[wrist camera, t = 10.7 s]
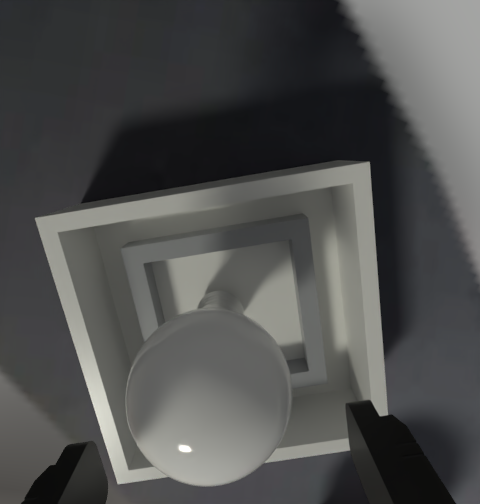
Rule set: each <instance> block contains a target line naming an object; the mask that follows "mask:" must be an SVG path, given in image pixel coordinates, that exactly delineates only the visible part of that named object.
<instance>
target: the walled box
mask: <svg viewBox="0 0 480 504" xmlns="http://www.w3.org/2000/svg"><path fill="white" fill-rule="evenodd" d="M35 220H36V223H37V227H38V230H39V233H40V236H41V239H42V243H43V246H44V249H45V252H46V255H47V259H48V262H49V265H50V268H51V271H52V275H53V278H54V281H55V284H56V287H57V291H58V294H59V297H60V300H61V303H62V307H63V310H64V313H65V316H66V319H67V323H68V326H69V329H70V332H71V335H72V339H73V342H74V345H75V348H76V351H77V355H78V358H79V361H80V364H81V367H82V371H83V374H84V377H85V380H86V383H87V387H88V390H89V393H90V396H91V399H92V403H93V406H94V409H95V412H96V415H97V419H98V422H99V425H100V428H101V432H102V435H103V438H104V441H105V444H106V448H107V451H108V454H109V457H110V460H111V464H112V467H113V470H114V473H115V476H116V480H117V483H118V484H123V483H130V482H137V481H144V480H150V479H157V478H164V477H168V476H167V475H165V474H163V473H162V472H160V471H159V470H158V469H157V468H155V467H154V466H153V465H152V464H151V463H150V462H149V461H148V460H147V459H146V457H145V456H144V455H143V453H142V452H141V451H140V449H139V448H138V446H137V444H136V442H135V440H134V438H133V436H132V433H131V431H130V428H129V424H128V420H127V414H126V401H125V398H126V386H127V380H128V376H129V372H130V369H131V366H132V364H133V361H134V359H135V357H136V355H137V353H138V352H139V350H140V348H141V347H142V345H143V344H144V342H145V341H146V340H147V339H148V338H149V336H150V335H151V334H152V333H153V332H154V331H155V330H156V329H157V328H159V327H160V326H161V325H162V324H164V323H165V322H167V321H168V320H170V319H172V318H173V317H175V316H177V315H180V314H182V313H185V312H188V311H191V310H195V309H197V307H198V304H199V302H200V301H201V299H202V298H203V297H204V296H205V295H207V294H209V293H211V292H214V291H226V292H229V293H231V294H233V295H234V296H236V297H237V298H238V299H239V301H240V302H241V304H242V307H243V315H245V316H247V317H249V318H251V319H253V320H254V321H256V322H257V323H258V324H260V325H261V326H262V327H263V328H264V329H266V330H267V331H268V332H269V334H270V335H271V336H272V337H273V338H274V340H275V341H276V342H277V344H278V345H279V347H280V349H281V350H282V352H283V354H284V356H285V359H286V361H287V364H288V367H289V370H290V374H291V380H292V389H293V399H292V409H291V414H290V419H289V422H288V425H287V428H286V431H285V433H284V435H283V438H282V440H281V441H280V443H279V445H278V446H277V448H276V449H275V451H274V452H273V453H272V455H271V456H270V457H269V458H268V459H267V460H266V461H265V462H264V463H267V462H274V461H281V460H288V459H294V458H301V457H308V456H315V455H322V454H329V453H336V452H342V451H349V450H350V446H349V438H348V428H347V419H346V409H345V404H346V403H349V402H356V401H362V400H371V402H372V403H373V405H374V407H375V409H376V411H377V412H378V414H379V416H386V415H388V410H387V396H386V382H385V368H384V354H383V340H382V326H381V312H380V298H379V284H378V270H377V256H376V242H375V228H374V214H373V200H372V186H371V172H370V162H366V161H346V160H336V161H330V162H324V163H318V164H312V165H307V166H301V167H295V168H289V169H283V170H277V171H271V172H265V173H259V174H253V175H247V176H241V177H235V178H230V179H224V180H218V181H212V182H206V183H200V184H194V185H188V186H182V187H176V188H170V189H164V190H158V191H153V192H147V193H141V194H135V195H129V196H123V197H117V198H111V199H105V200H99V201H93V202H87V203H81V204H78V205H75V206H71V207H68V208H65V209H62V210H59V211H56V212H52V213H49V214H46V215H43V216H40V217H37V218H35Z"/></svg>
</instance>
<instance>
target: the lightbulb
mask: <svg viewBox="0 0 480 504" xmlns="http://www.w3.org/2000/svg"><path fill="white" fill-rule="evenodd" d="M292 399H293V389H292V380H291V374H290V370H289V367H288V364H287V361H286V359H285V356H284V354H283V352H282V350H281V349H280V347H279V345H278V344H277V342H276V341H275V340H274V338H273V337H272V336H271V335H270V334H269V332H268V331H267V330H266V329H264V328H263V327H262V326H261V325H260V324H258V323H257V322H256V321H254V320H253V319H251V318H249V317H247V316H245V315H243V307H242V304H241V302H240V301H239V299H238V298H237V297H236V296H234V295H233V294H231V293H229V292H226V291H214V292H211V293H209V294H207V295H205V296H204V297H203V298H202V299H201V301H200V302H199V304H198V307H197V309H195V310H191V311H188V312H185V313H182V314H180V315H177V316H175V317H173V318H172V319H170V320H168V321H167V322H165V323H164V324H162V325H161V326H160V327H159V328H157V329H156V330H155V331H154V332H153V333H152V334H151V335H150V336H149V338H148V339H147V340H146V341H145V342H144V344H143V345H142V347H141V348H140V350H139V352H138V353H137V355H136V357H135V359H134V361H133V364H132V366H131V369H130V372H129V376H128V380H127V386H126V398H125V401H126V414H127V420H128V424H129V428H130V431H131V433H132V436H133V438H134V440H135V442H136V444H137V446H138V448H139V449H140V451H141V452H142V453H143V455H144V456H145V457H146V459H147V460H148V461H149V462H150V463H151V464H152V465H153V466H154V467H155V468H157V469H158V470H159V471H160V472H162V473H163V474H165V475H167V476H168V477H170V478H172V479H174V480H176V481H179V482H182V483H185V484H189V485H194V486H203V487H211V486H220V485H225V484H228V483H232V482H235V481H237V480H239V479H242V478H244V477H245V476H247V475H249V474H250V473H252V472H254V471H255V470H256V469H258V468H259V467H260V466H261V465H262V464H263V463H264V462H265V461H266V460H267V459H268V458H269V457H270V456H271V455H272V453H273V452H274V451H275V449H276V448H277V446H278V445H279V443H280V441H281V440H282V438H283V435H284V433H285V431H286V428H287V425H288V422H289V419H290V414H291V409H292Z"/></svg>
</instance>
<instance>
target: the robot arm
mask: <svg viewBox="0 0 480 504" xmlns="http://www.w3.org/2000/svg"><path fill="white" fill-rule="evenodd" d="M345 409H346V419H347V428H348V438H349V446H350V451H351V455H352V459H353V462H354V465H355V468H356V470H357V473H358V476H359V478H360V481H361V483H362V486H363V488H364V491H365V494H366V496H367V499H368V501H369V504H456V503H455V502H454V500H453V498H452V497H451V495H450V494H449V492H448V490H447V489H446V487H445V486H444V484H443V483H442V481H441V479H440V478H439V476H438V475H437V473H436V472H435V470H434V468H433V467H432V465H431V464H430V462H429V461H428V459H427V457H426V456H424V453H423V451H422V450H421V448H420V446H419V445H418V443H416V440H415V439H414V437H413V435H412V434H411V432H410V431H409V429H408V428H407V426H406V425H405V424H403V423H402V422H401V421H399V420H398V419H397V418H396V417H394V416H393V415H386V416H379V414H378V412H377V411H376V409H375V407H374V405H373V403H372V402H371V400H362V401H356V402H349V403H346V404H345ZM107 494H108V481H107V477H106V474H105V471H104V467H103V464H102V461H101V458H100V455H99V452H98V449H97V446H96V444H95V443H94V442H93V441H89V442H83V443H76V444H70V445H67V446H66V447H65V449H64V450H63V452H62V454H61V456H60V458H59V459H58V461H57V463H56V465H51V466H49V467H48V468H47V469H46V470H45V471H44V472H43V473H42V474H41V475H40V476H39V477H38V478H37V479H36V480H35V481H34V483H33V485H32V486H31V488H30V490H29V492H28V493H27V495H26V497H25V500H24V501H23V502H22V503H21V504H105V503H106V500H107Z"/></svg>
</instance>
